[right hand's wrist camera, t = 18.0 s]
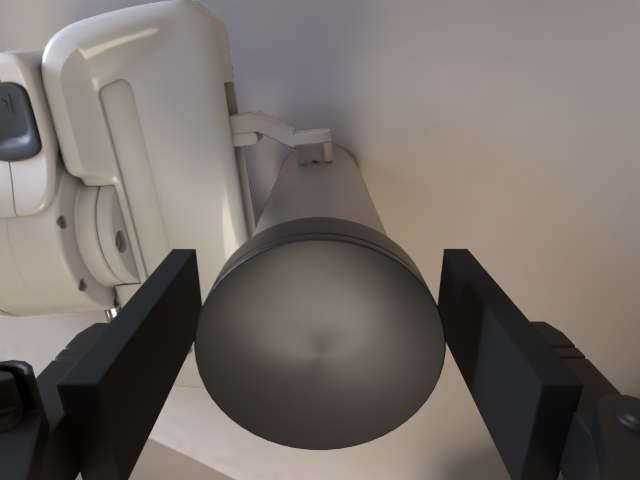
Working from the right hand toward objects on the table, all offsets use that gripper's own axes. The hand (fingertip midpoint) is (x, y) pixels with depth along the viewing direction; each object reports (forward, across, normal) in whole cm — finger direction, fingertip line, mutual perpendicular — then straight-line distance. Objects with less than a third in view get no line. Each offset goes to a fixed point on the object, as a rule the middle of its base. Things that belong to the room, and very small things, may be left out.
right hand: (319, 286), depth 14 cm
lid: (-3, 0, 0) cm, 3 cm away
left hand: (+9, -1, 0) cm, 9 cm away
